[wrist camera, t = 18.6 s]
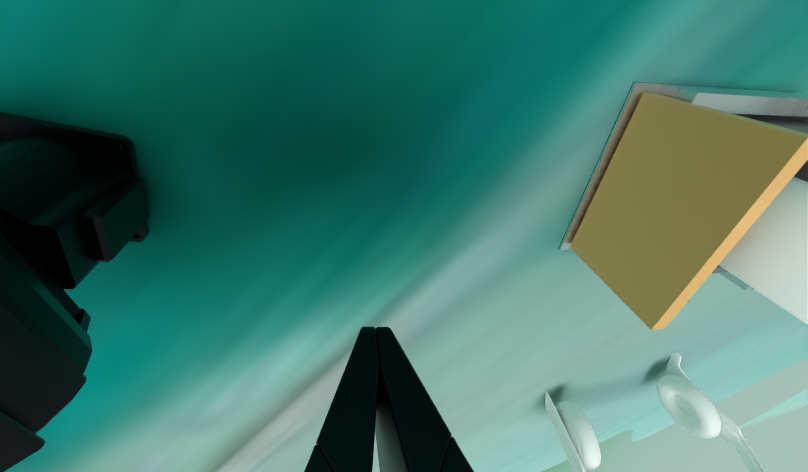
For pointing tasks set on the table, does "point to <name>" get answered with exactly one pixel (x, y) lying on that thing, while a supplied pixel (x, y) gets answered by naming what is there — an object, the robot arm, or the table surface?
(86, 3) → the table surface
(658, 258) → the grey and tan box
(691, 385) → the headset
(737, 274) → the bottle
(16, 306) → the robot arm
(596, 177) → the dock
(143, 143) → the table surface
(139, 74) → the table surface
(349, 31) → the table surface
